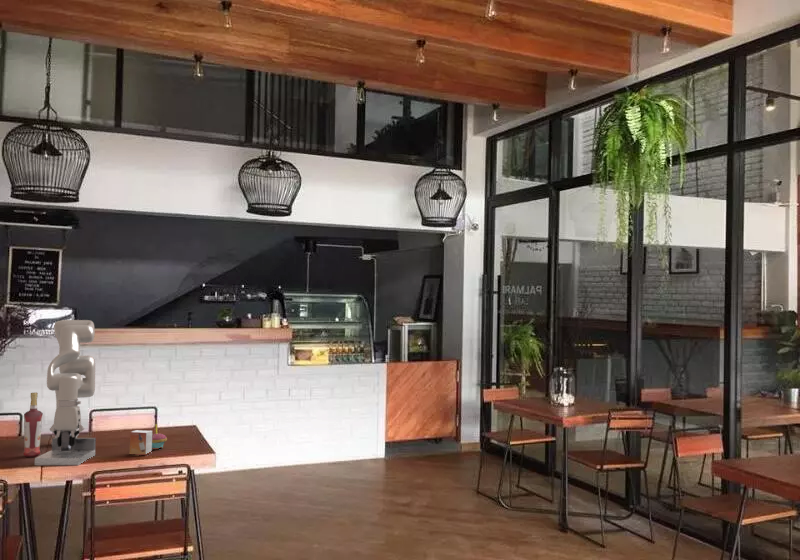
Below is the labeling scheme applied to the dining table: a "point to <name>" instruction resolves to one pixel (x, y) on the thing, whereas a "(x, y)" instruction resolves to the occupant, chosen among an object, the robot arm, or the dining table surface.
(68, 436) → the bushing
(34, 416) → the liquor
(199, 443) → the dining table surface
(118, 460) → the dining table surface
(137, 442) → the small box
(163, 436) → the cupcake
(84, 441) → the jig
